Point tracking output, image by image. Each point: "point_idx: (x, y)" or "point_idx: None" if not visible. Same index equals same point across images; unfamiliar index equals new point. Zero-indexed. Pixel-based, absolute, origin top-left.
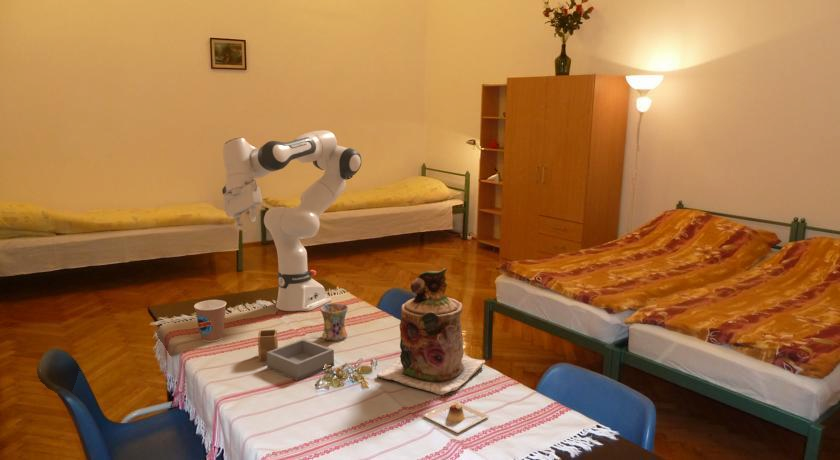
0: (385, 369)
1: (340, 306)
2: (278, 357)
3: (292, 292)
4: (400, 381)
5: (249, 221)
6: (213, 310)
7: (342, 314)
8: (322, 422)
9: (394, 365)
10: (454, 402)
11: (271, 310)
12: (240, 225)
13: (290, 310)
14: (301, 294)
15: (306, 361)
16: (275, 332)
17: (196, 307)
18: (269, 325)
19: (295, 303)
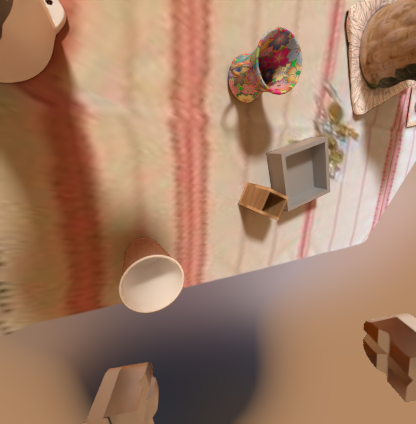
0: (352, 95)
1: (269, 36)
2: (305, 203)
3: (22, 27)
4: (379, 104)
5: (369, 356)
6: (180, 277)
7: (293, 61)
8: (367, 196)
9: (353, 79)
10: (413, 88)
11: (7, 101)
12: (147, 390)
13: (46, 62)
14: (38, 5)
15: (328, 179)
16: (277, 193)
17: (138, 305)
18: (127, 150)
19: (42, 39)
